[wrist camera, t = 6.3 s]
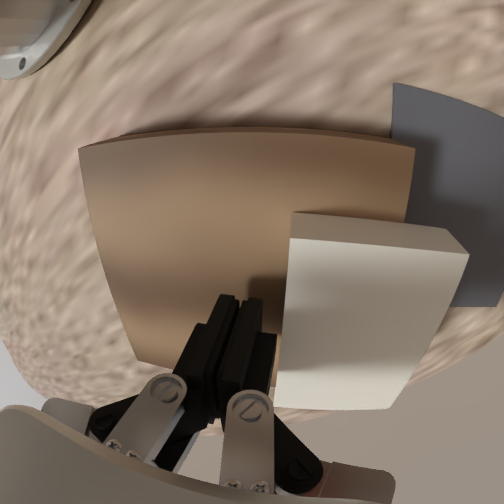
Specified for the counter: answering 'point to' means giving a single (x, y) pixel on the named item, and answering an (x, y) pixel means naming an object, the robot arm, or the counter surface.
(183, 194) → the brown square plate
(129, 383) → the counter surface
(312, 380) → the white rectangular block
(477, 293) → the mat
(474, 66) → the counter surface
